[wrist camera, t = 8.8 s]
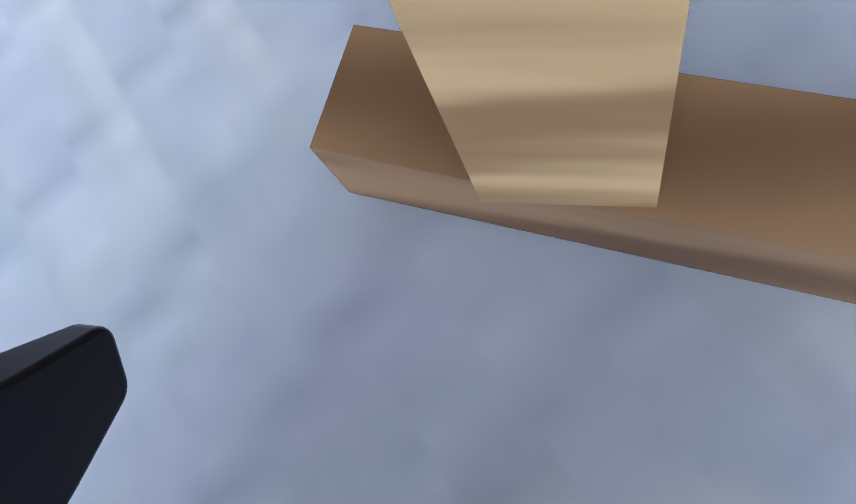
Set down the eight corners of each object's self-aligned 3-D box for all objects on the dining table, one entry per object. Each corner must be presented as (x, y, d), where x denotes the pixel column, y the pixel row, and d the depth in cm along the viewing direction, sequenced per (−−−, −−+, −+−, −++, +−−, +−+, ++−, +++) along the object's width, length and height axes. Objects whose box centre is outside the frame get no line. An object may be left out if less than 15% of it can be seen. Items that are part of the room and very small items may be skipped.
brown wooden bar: (981, 331, 19) (1055, 300, 16) (349, 192, 25) (309, 147, 21) (1001, 188, 20) (1076, 131, 17) (386, 83, 26) (353, 24, 22)
